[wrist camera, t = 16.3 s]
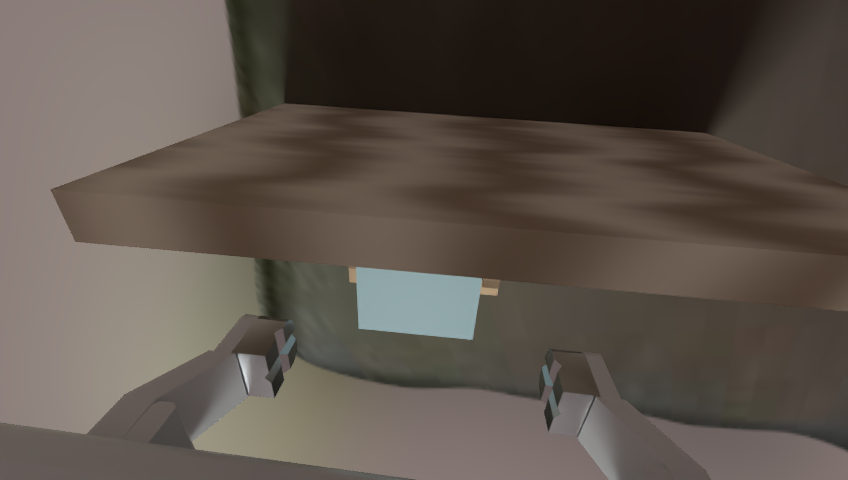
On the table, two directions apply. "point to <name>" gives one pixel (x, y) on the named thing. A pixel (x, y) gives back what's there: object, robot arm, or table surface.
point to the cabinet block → (417, 302)
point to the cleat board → (483, 204)
